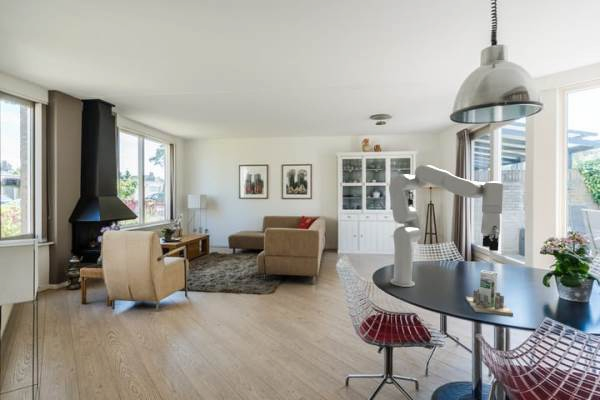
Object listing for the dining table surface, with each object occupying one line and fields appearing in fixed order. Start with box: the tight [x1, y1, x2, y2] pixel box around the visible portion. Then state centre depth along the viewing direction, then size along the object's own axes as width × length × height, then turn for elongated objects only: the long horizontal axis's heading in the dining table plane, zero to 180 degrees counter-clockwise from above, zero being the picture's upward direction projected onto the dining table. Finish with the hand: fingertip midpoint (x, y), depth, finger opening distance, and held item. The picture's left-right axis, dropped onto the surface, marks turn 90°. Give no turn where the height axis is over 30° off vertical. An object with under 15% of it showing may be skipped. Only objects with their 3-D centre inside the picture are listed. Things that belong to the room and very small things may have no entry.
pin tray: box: [465, 288, 514, 317], centre depth 134 cm, size 16×14×6 cm
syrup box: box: [478, 269, 498, 307], centre depth 135 cm, size 6×6×14 cm
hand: (489, 248), depth 134 cm, fingers open, 9 cm apart
